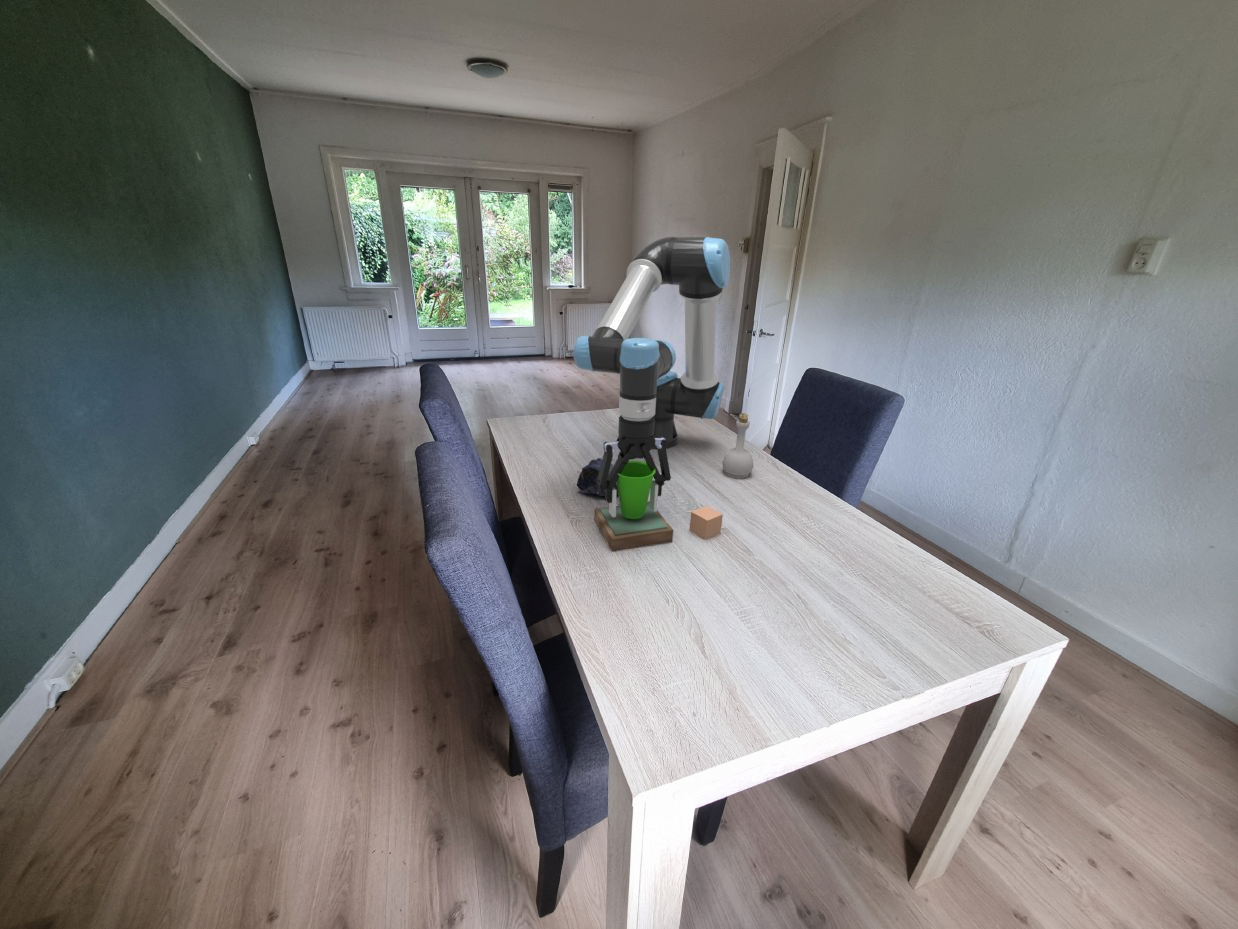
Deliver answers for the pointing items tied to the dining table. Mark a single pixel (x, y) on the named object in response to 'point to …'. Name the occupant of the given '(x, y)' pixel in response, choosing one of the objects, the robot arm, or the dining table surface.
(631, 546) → the tray
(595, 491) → the rock
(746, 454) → the potion bottle
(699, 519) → the terracotta block
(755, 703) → the dining table surface
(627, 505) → the cup
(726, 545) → the dining table surface
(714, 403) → the robot arm
